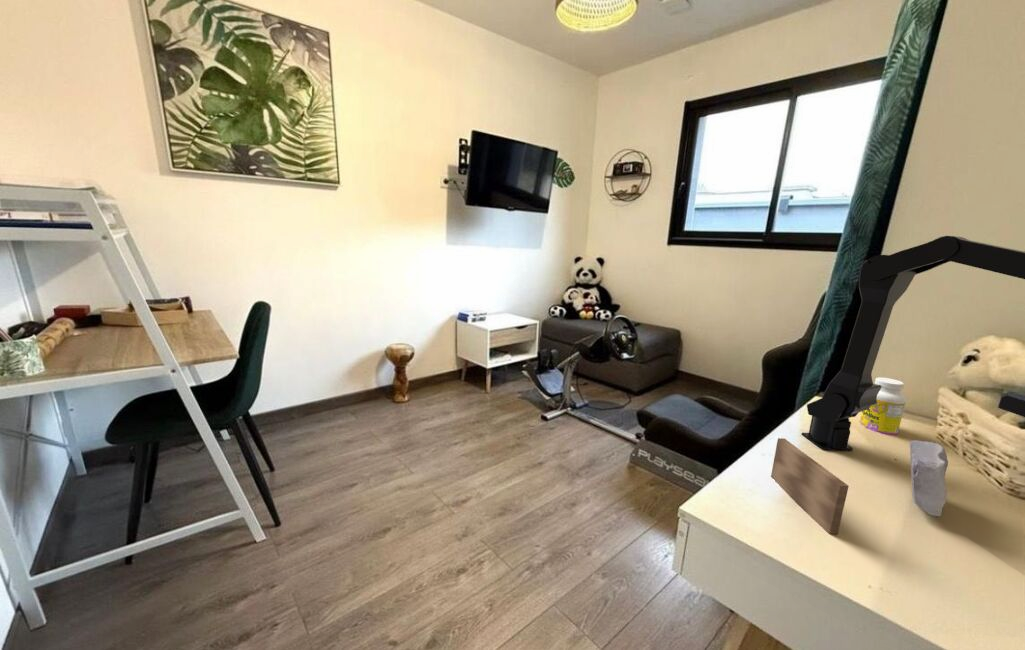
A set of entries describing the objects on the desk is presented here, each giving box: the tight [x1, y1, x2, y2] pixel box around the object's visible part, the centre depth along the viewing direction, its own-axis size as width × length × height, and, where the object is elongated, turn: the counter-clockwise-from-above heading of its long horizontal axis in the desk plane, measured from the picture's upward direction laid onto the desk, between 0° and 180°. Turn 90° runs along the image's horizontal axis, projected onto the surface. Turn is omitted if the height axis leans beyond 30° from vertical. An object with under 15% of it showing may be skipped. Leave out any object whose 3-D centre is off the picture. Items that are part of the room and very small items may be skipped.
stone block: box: [909, 439, 949, 517], centre depth 65 cm, size 12×5×10 cm, turn 135°
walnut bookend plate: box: [770, 437, 849, 535], centre depth 64 cm, size 14×1×8 cm, turn 179°
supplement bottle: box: [859, 377, 907, 436], centre depth 90 cm, size 7×7×13 cm
